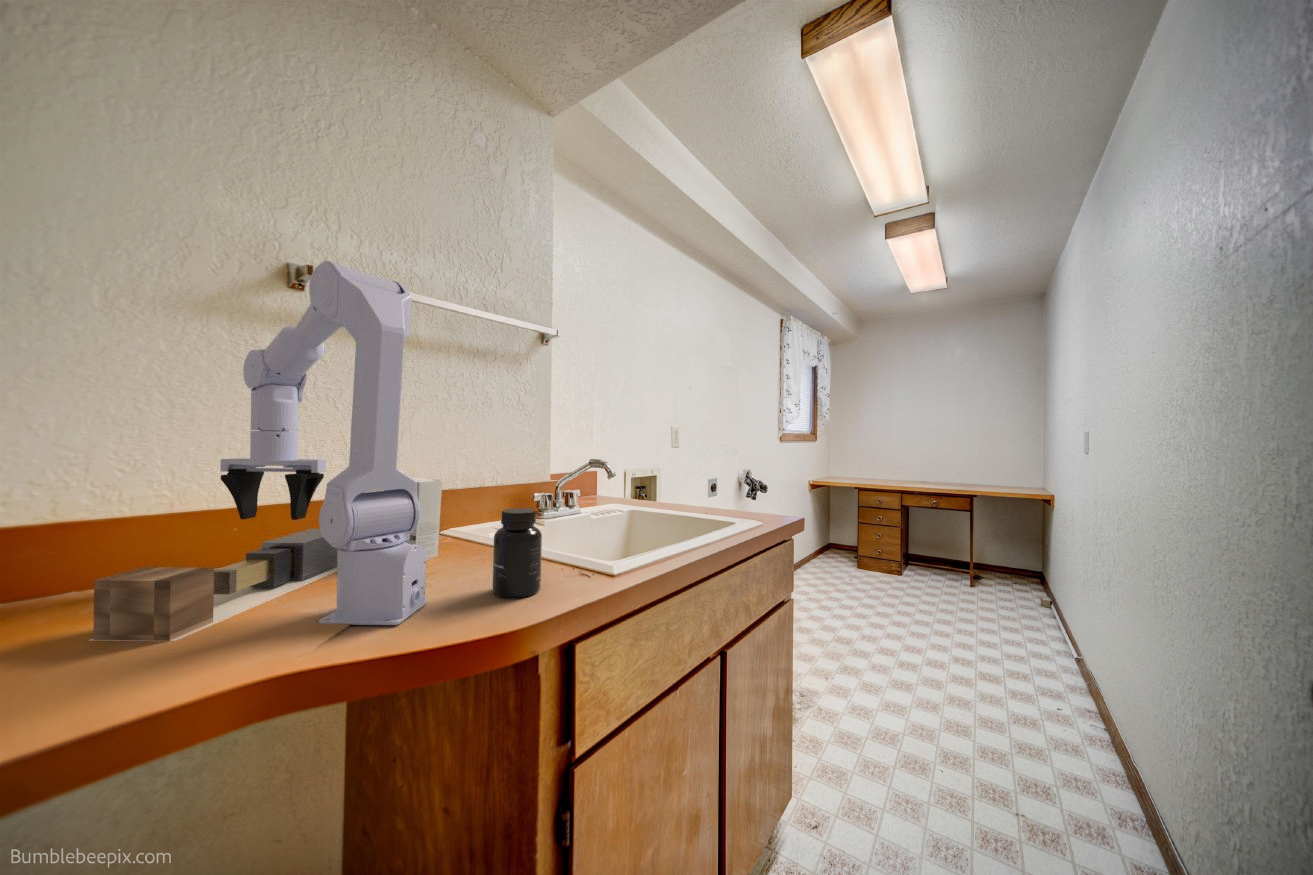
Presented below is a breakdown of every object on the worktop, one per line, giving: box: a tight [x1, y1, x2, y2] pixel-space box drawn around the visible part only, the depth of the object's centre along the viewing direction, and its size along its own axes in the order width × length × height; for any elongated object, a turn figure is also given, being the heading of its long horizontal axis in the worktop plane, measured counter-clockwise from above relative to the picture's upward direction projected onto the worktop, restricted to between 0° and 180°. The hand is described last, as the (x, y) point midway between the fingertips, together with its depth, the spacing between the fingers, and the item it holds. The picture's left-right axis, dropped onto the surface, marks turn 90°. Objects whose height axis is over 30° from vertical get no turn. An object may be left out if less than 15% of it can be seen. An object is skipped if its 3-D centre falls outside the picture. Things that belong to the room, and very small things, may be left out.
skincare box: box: [383, 476, 443, 561], centre depth 85 cm, size 8×6×15 cm
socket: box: [92, 566, 215, 642], centre depth 52 cm, size 8×5×6 cm, turn 91°
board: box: [88, 567, 337, 642], centre depth 65 cm, size 9×31×1 cm, turn 1°
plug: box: [214, 547, 295, 595], centre depth 69 cm, size 4×19×5 cm, turn 1°
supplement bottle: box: [492, 507, 543, 599], centre depth 69 cm, size 7×7×12 cm
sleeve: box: [260, 528, 337, 581], centre depth 76 cm, size 6×10×6 cm, turn 1°
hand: (273, 518), depth 72 cm, fingers open, 7 cm apart
